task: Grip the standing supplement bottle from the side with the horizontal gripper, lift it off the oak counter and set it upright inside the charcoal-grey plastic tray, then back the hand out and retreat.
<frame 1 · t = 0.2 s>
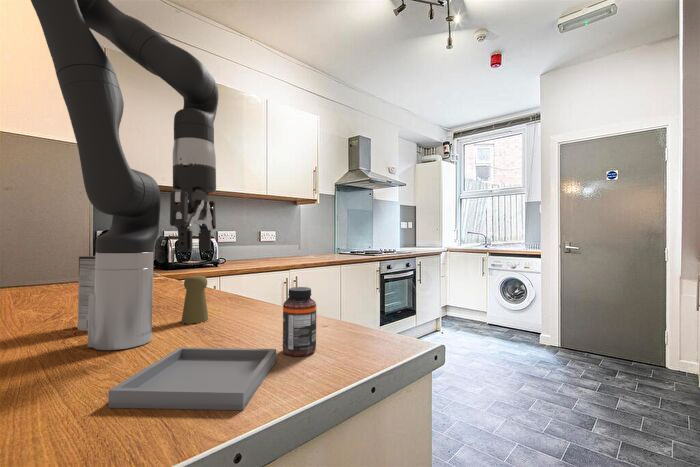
hand: (195, 251, 64), 18 cm above the counter, tool pointing down, fingers open, 8 cm apart
supplement bottle: (299, 352, 60), on the counter
cork: (195, 321, 82), on the counter
tray: (205, 380, 47), on the counter
coffee box: (107, 327, 76), on the counter
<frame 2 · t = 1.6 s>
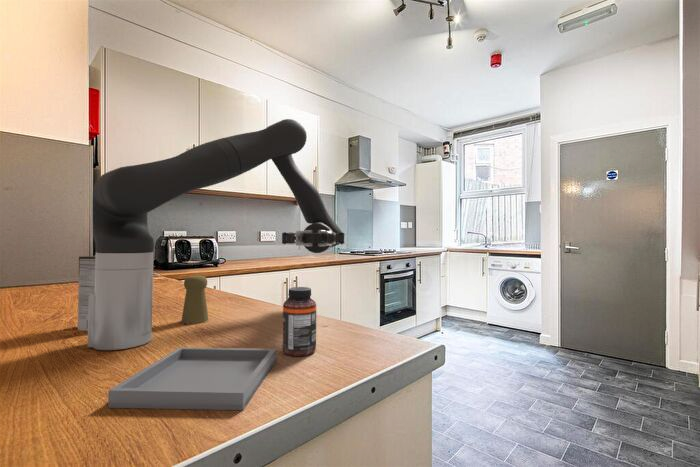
hand: (309, 238, 72), 20 cm above the counter, tool horizontal, fingers open, 8 cm apart
nothing on the counter moved.
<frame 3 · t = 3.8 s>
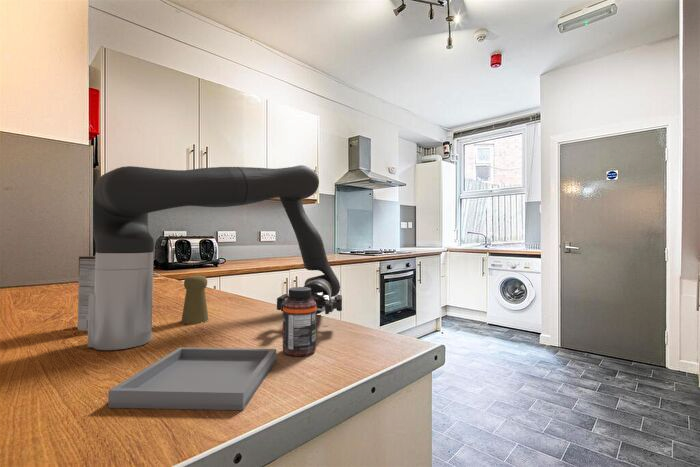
hand: (306, 308, 68), 6 cm above the counter, tool horizontal, fingers open, 8 cm apart
nothing on the counter moved.
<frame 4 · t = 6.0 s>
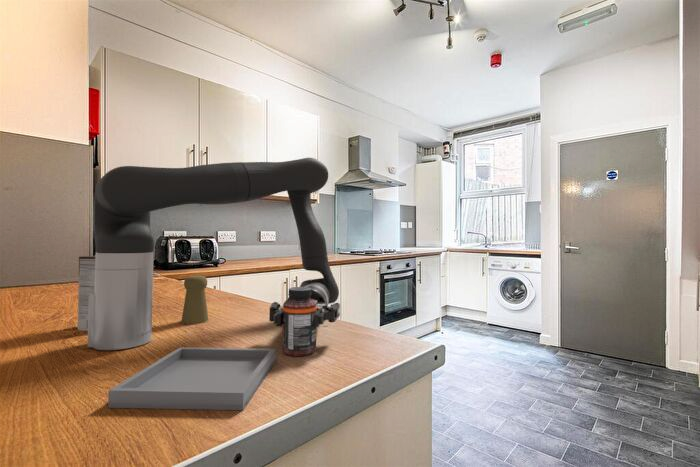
hand: (297, 320, 58), 6 cm above the counter, tool horizontal, fingers closed on supplement bottle, 6 cm apart
supplement bottle: (299, 352, 60), on the counter, touching gripper
everything else where it was.
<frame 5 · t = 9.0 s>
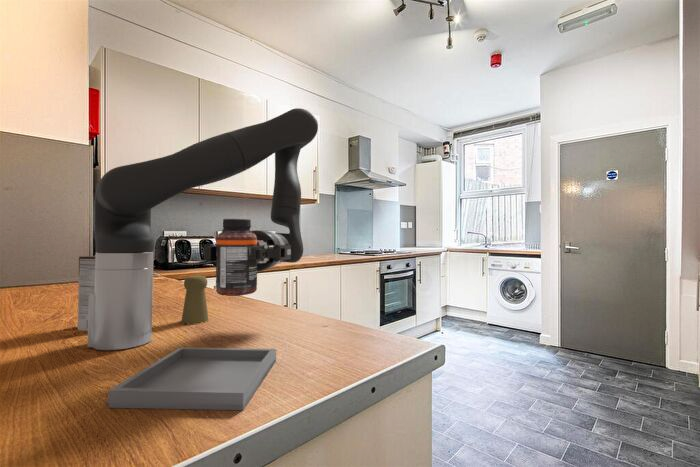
hand: (231, 254, 49), 18 cm above the counter, tool horizontal, fingers closed on supplement bottle, 6 cm apart
supplement bottle: (236, 294, 51), point 12 cm above the counter, touching gripper
everything else where it was.
when the fingers open (8 cm above the counter, at t = 11.9 s): supplement bottle drops 1 cm, resting on tray.
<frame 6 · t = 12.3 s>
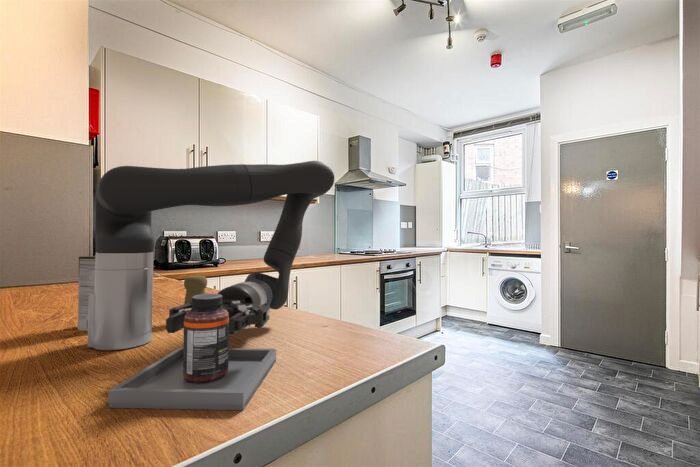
hand: (200, 326, 46), 8 cm above the counter, tool horizontal, fingers open, 8 cm apart
supplement bottle: (205, 377, 48), resting on tray
everything else where it was.
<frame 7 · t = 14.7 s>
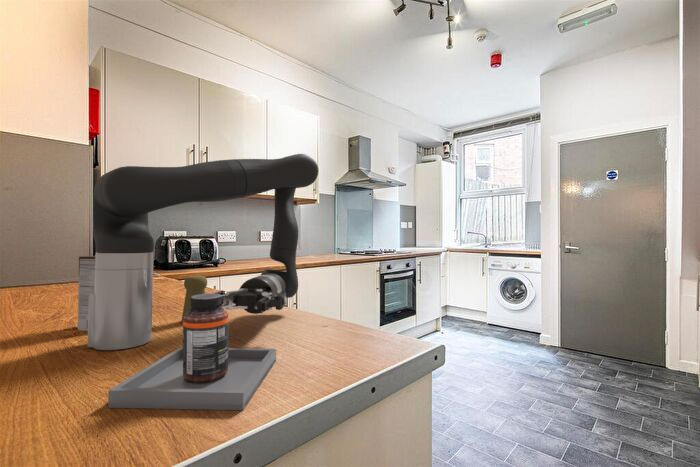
hand: (235, 307, 59), 8 cm above the counter, tool horizontal, fingers open, 8 cm apart
nothing on the counter moved.
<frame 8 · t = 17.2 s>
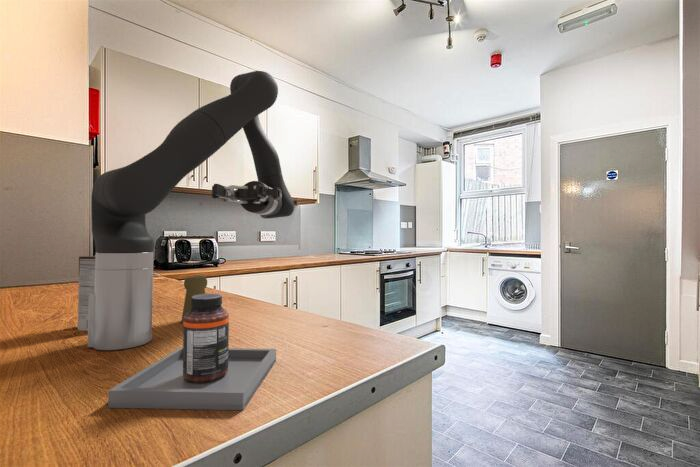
hand: (236, 189, 67), 30 cm above the counter, tool horizontal, fingers open, 8 cm apart
nothing on the counter moved.
at the end: supplement bottle inside the target area on the tray (0.2 cm from its centre), point 0.4 cm above the tray's base; supplement bottle tilted 0°; the gripper is holding nothing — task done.
